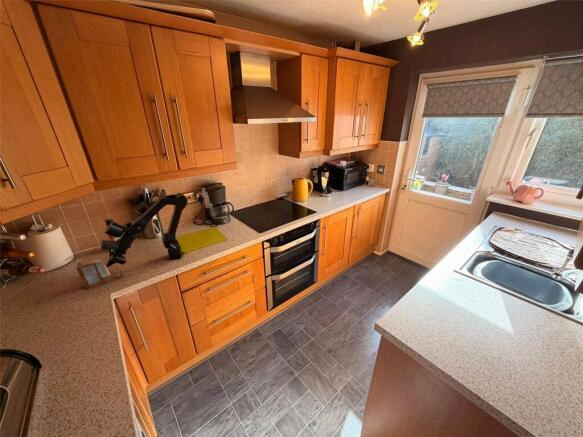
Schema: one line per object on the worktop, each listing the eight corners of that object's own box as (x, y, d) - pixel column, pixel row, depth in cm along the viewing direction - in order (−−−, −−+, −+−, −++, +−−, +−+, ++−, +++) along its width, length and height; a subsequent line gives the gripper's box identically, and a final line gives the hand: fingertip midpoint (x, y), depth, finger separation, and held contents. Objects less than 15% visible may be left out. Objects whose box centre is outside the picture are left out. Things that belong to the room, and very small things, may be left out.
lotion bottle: (112, 250, 143) (100, 222, 134) (115, 246, 148) (104, 218, 139) (122, 249, 144) (111, 220, 135) (125, 244, 149) (115, 217, 140)
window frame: (120, 272, 124) (112, 252, 118) (121, 277, 120) (112, 257, 115) (87, 283, 116) (76, 263, 111) (86, 289, 113) (76, 268, 107)
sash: (109, 273, 120) (103, 258, 116) (109, 275, 120) (103, 259, 115) (95, 278, 117) (87, 262, 113) (95, 279, 116) (87, 263, 112)
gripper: (107, 227, 120) (89, 252, 119) (109, 242, 107) (88, 271, 106) (130, 236, 128) (112, 259, 127) (134, 251, 115) (115, 277, 113)
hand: (107, 266), depth 118 cm, fingers closed, pressing on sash
